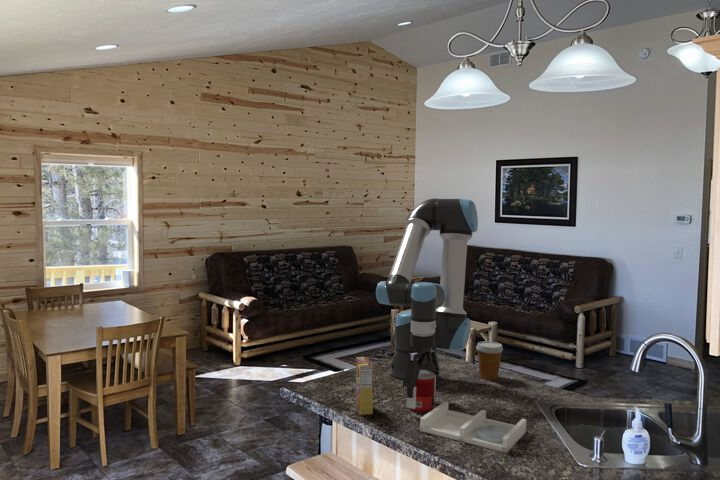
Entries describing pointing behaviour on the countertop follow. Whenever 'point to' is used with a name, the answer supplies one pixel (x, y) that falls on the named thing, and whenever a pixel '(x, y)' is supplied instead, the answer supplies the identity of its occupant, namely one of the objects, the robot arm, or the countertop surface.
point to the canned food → (425, 391)
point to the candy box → (364, 385)
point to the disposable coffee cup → (489, 359)
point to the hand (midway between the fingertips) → (421, 401)
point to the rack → (469, 427)
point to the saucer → (491, 433)
